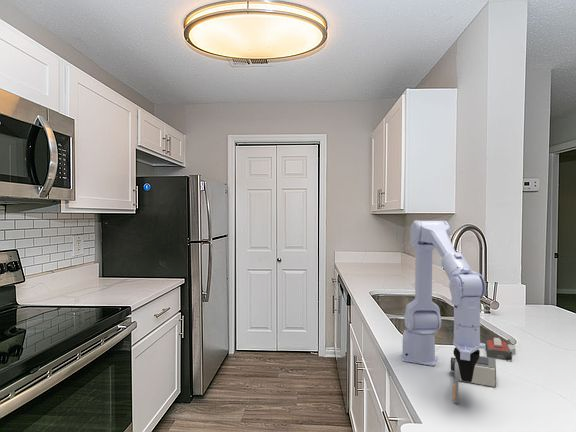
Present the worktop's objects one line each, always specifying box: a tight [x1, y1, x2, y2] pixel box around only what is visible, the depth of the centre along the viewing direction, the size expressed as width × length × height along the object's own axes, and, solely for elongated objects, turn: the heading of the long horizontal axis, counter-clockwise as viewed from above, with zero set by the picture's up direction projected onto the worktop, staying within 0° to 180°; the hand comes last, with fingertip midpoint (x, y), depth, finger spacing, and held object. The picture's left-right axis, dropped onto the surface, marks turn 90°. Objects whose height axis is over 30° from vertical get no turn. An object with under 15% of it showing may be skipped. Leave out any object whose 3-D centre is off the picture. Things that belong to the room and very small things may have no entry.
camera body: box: [450, 355, 497, 388], centre depth 108 cm, size 11×8×6 cm
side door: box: [452, 363, 459, 404], centre depth 99 cm, size 14×1×5 cm, turn 157°
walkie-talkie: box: [484, 337, 516, 361], centre depth 130 cm, size 9×4×20 cm
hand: (466, 380), depth 94 cm, fingers closed
